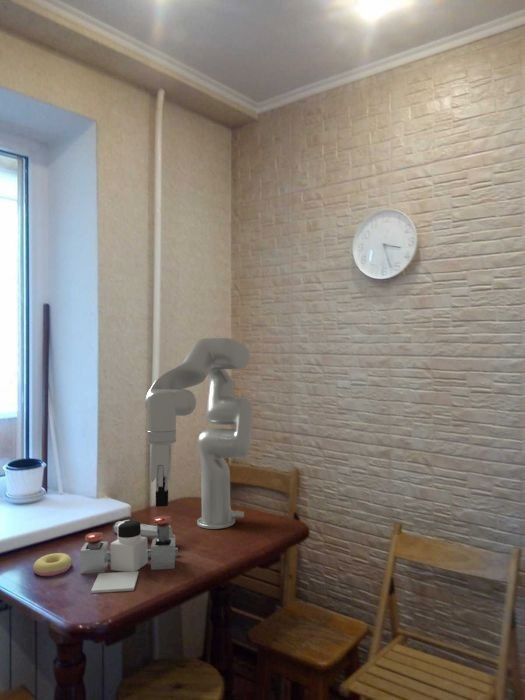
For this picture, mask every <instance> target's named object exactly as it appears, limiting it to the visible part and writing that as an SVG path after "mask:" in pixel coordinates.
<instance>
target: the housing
mask: <svg viewBox="0 0 525 700" xmlns="http://www.w3.org/2000/svg"><path fill="white" fill-rule="evenodd" d="M178 551H179V548H178V547H176V539H175V538H169V545H157V539H155V538H153V539H152V541H151V545H150V548H149V549H148V548H147V552H148V559H150V570H152V571H153V570H154V571H155V570H169V569H175V565H176V557H178V555H179V554H178V553H179V552H178ZM79 552H80V554H79V555H80V561H79V562H80V563H79V564H80V575H82V574H83V575H84V574H85V575H86V574H99V573H106V570H107V568H108V565H109V561H111V553H110V550H109V541H108V540H107V541H101V548H96V549H88V542H87V541H86V542H85V543H84V544H83V545H82V547H81V549H80V551H79Z"/></svg>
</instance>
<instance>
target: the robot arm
mask: <svg viewBox="0 0 525 700" xmlns="http://www.w3.org/2000/svg"><path fill="white" fill-rule="evenodd" d="M250 360H251V353H250V351H249V348H248V346H247V345H245V344H244V343H242V342H240V341H237V340H235V339H233V338H229V337H210V338H209V337H206V338H200V339H198V340H197V341H196V342H195V343H194V344H193V346H192V347H191V348H190V350H189V352H188V353H187V354H186V357H185V358H184V360H183V361H182V363H181V364H179V365H177V366H175V367H173V368H171V369H170V370H168V371H166V372H164V373H163V374H161V375H160V376H159V377H157V379H155V381H154V382H153V383H152V384H151V386H150V388H149V390H148V391H147V394H146V396H145V401H144V402H145V403H144V405H145V409H146V411H147V444H149V445H151V446H150V469H149V470H150V474H149V480H150V482H151V483H153V482H154V481H155V486H156V487H155V488H156V490H155V506H156V507H158V508H159V507H168V505H169V489H168V482H169V480H170V477H171V471H172V444H175V443H177V426H176V425H177V417H184V416H185V417H186V416H188V415H191V413H193V412H194V410H196V406H197V398H196V395H195V394H194V393H193V392H192V391H191V390H189V389H190V388H191V387H195V386H197V385H200V384H201V383H203V382H204V381H205V379H206V378H207V379H208V395H207V402H206V412H205V417H206V421H207V422H208V423H209V424H211V425H219V426H235V428H221V427H220V428H219V427H218V428H217V427H212V428H211V427H210V428H206V429H203V430H202V431H201V432H200V434H198V438H197V449H198V452H199V458H200V459H199V460H200V473H201V475H200V476H201V477H200V480H201V482H200V487H201V488H200V489H201V492H200V493H201V497H200V498H201V516H200V517H199V518H198V519H197V520H196V524H197V526H198V527H200V528H203V529H208V530H209V529H210V530H218V529H226V528H230V527H231V526H233V525H234V524H235V523H236V518H241V519H242V518H245V511H241V510H233V509H232V507H231V483H230V482H231V472H230V467H229V465H228V463H227V461H226V460H225V459H244V458H245V457H247V456H248V455H249V452H250V448H251V439H252V429H253V419H254V410H253V405H252V402H251V401H250V400H249V399H248V398H247V397H242V396H234V388H235V387H234V386H235V384H234V383H235V382H234V381H233V378H232V377H231V375H230V374H229V373H228V372H227V370H243V369H246V368H247V367H248V365H249V364H250ZM188 388H189V389H188Z"/></svg>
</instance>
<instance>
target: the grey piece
mask: <svg viewBox="0 0 525 700" xmlns="http://www.w3.org/2000/svg"><path fill="white" fill-rule="evenodd" d="M122 521H123V520H122ZM122 521H121V520H118V521H116V522H114V524H113V525H112V532H113V533H114V534H116V535H117V525H118V524H119V523H120V522H122ZM140 524H141V536H140V537H147V538H148V537H149V538H154V539H157V525H150V524H145V523H140ZM169 538H175V540H176V539H177V536H176V535H175V534H174V533H173V528H172V526H171V525H169Z"/></svg>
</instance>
